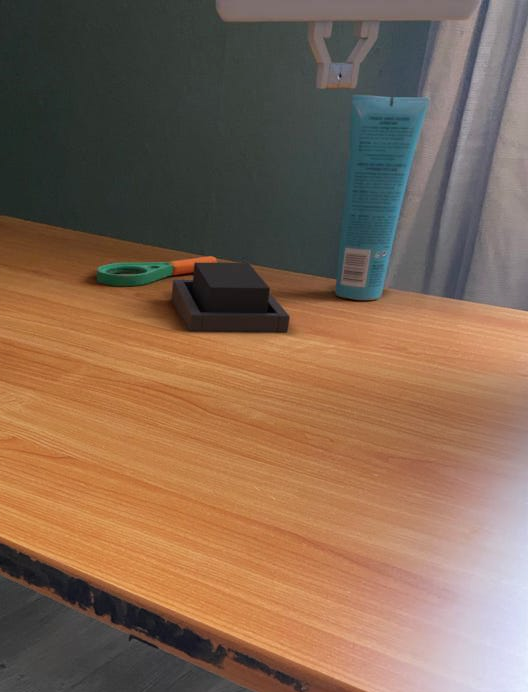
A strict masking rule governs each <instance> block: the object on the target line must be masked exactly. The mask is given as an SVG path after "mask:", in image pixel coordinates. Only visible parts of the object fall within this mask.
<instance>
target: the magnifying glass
mask: <svg viewBox="0 0 528 692" xmlns="http://www.w3.org/2000/svg"><path fill="white" fill-rule="evenodd" d="M195 262H198V263H218V260H217V258H216V257H215V256H212V255H208V256H200V257H195V258H185V259H179V260H178V259H177V260H171V261H167V262H166V261H163V262H162V261H157V262H156V261H155V262H153V261H150V262H149V261H148V262H147V261H146V262H116V263H115V262H114V263H109V264H104V265H101V266H98V268H97V270H96V281H97V282H98V283H99V284H102V285H107V286H113V287H136V286H145V285H147V284H150V283H153V282H156V281H159V280H161V279H164V278H167V277H170V276H178V275H185V274H191V273H194V263H195Z"/></svg>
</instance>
